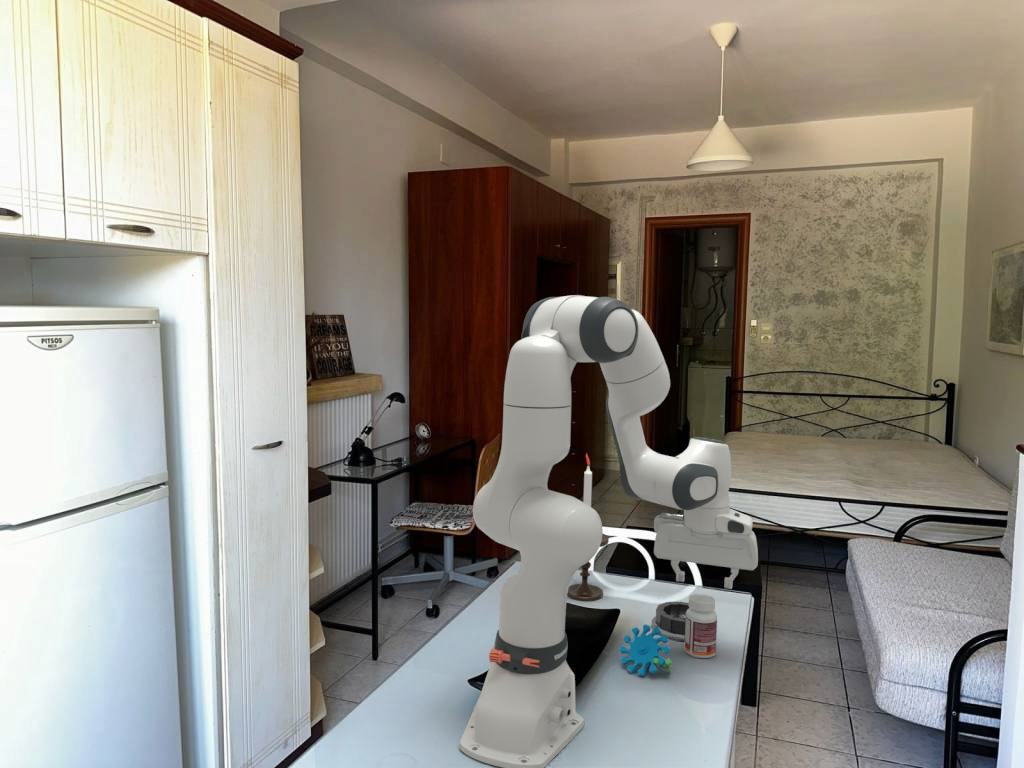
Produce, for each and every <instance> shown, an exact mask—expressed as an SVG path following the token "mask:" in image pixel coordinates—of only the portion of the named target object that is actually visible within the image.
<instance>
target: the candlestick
mask: <svg viewBox="0 0 1024 768" xmlns="http://www.w3.org/2000/svg"><path fill="white" fill-rule="evenodd" d="M585 458H586V464H587V466H586V470H585V471H584V475H583V476H584V477H583V501H582V502H583V503H585V504H587V505H588V506H590V507H591V508H592V490H593V489H592V488H593V471H591V469H590V467H591V461H590V458H589V455H588V453H587V452H586V454H585ZM609 539H610V538H609V536H608V535H606V534H605V533H602V540H601V544H600V547H599V548H602V547H605V546H607V545H608V544H609V542H610V541H609ZM591 566H592V564H591V562H590V561H588V562H587V563H586V564H584V565H582V566H581V567H580V569H581V572H580V573H579V576H580V577H581V583H575V584H570V585H569V588H568V593H567V598H569V599H572V600H575V601H580V602H595V601H599V600H600V599H602V598H603V597H604V590H603V589H602V588H600V587H598V586H596V585H593V584H589V583H588V581H589V580H588V577H590V576H591V573H590V572H589V569H590V568H591Z"/></svg>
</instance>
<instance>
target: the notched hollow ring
mask: <svg viewBox="0 0 1024 768" xmlns="http://www.w3.org/2000/svg"><path fill="white" fill-rule="evenodd" d="M688 604H689V602H685V601H678V600H677V601H665V602H663V603H659V604H658V605H657V607H656V608H655V616H654V617H653V618H652V619H651V626H650V627H651V629H652V630H653V629H654V628H655V627H657V628H658V629H659V630H660V631H661V634H659V635H658V636H659V637H661V636H662V635H666V636H667V639H668V640H671V641H676V642H682V643H685V626H686V611H687V610H688V609H689V608H690V607H689V605H688Z"/></svg>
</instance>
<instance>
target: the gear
mask: <svg viewBox="0 0 1024 768" xmlns="http://www.w3.org/2000/svg"><path fill="white" fill-rule="evenodd" d="M651 629H652V627H651V626H650V625H648V624H643V626H642V633H641V634H640V632H641V631H640V629H639V628H638V627H634V628H631V632H632V633H633V641H631V640H632V638H631V637H630V635H628V634H626V635H625V636H623V638H622V640H623V641H624V643H626V644H628V645H629V649H627V648H626V647H625V645H621V646H620V647H619V650H618V651H619V653H620V654H622V655H624V654H625V655H626V654H627V655H630V656H629V658H628V657H626V656H621V658H620V662H621V664H622V665H623V666H626V665H627V667H626V668H627V670H628V671H629V672H630V674H634V673H635V671H636V670H637V674H638V675H639V676H641V677H645V676H646V672H647V671H646V670H647V668H648V666H649V665H650V664H651V665H650V666H649V672H650V673H651V674H656V673H658V668H657V667H659V668H660V669H662V670H663V671H667V673H668V674H671V673H673V670H672V669H671V668H672V667H673V665H674V664H673V662H672V660H671V659H670V658H666V659H665V657H664V656H661V655H660V651H662V652H663V654H665V655H669V653H670V651H671V649H670V647H669V646H668V645H665V646H663V645H661V644H659V643H661V642H662V643H664V644H667V643H668V640H669V639H667V636H666V635H662V636H660V635H659V634H661V631H660V630H659V629H658V628H657V627H655V628H654V629H652V631H651ZM649 632H650V633H649ZM647 633H649V634H647ZM639 634H640V635H639ZM638 635H639V636H638ZM654 636H658V637H654ZM629 663H634V664H630V665H628V664H629ZM640 666H642V667H641V668H639V667H640ZM656 666H657V667H656ZM637 668H638V669H637Z"/></svg>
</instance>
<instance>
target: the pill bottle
mask: <svg viewBox="0 0 1024 768" xmlns="http://www.w3.org/2000/svg"><path fill="white" fill-rule="evenodd" d="M688 603H689V604H688V605H689V607H690V608H689V609H688V610H687V611H686V626H685V642H684V651H685V652H686V654H687V655H688V656H689V655H690V656H691V657H693V658H697V659H709V658H710V659H711V658H713V657H714V656H716V652H717V633H718V632H717V631H718V629H717V627H718V614H717V612H716V611H715V610H716V599H715V598H714V597H713V596H711V595H708V594H703V593H702V594H701V593H694V594H691V595H689V597H688Z"/></svg>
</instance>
